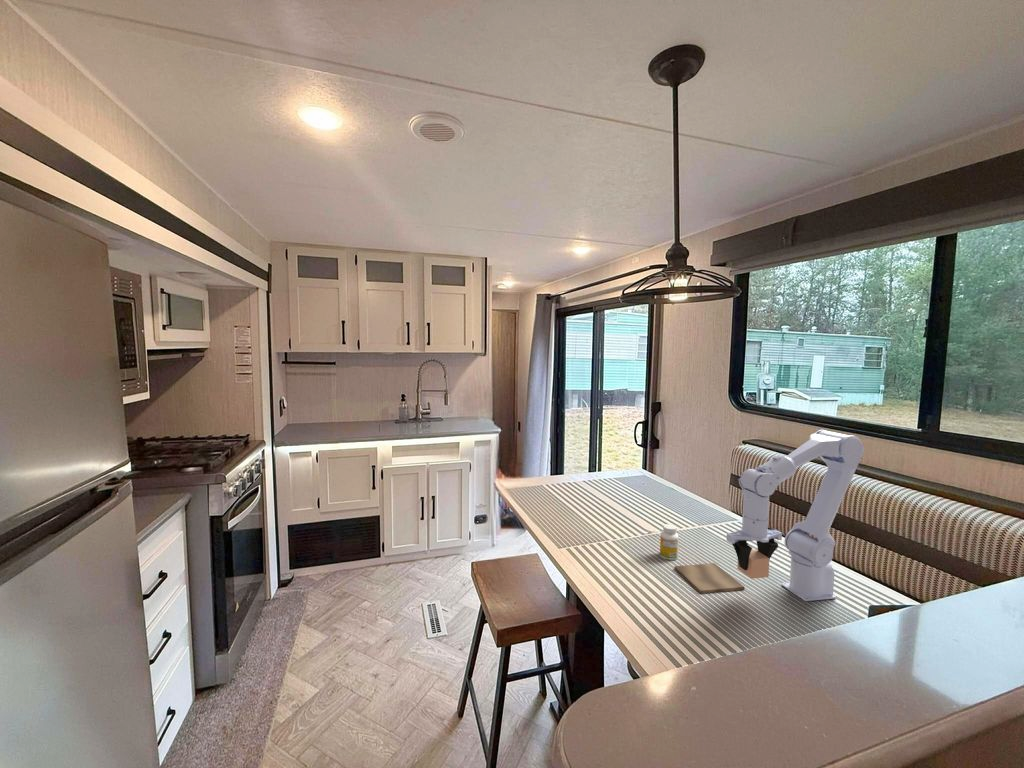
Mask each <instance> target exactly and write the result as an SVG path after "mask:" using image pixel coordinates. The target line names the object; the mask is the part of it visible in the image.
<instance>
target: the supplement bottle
mask: <svg viewBox="0 0 1024 768" xmlns="http://www.w3.org/2000/svg"><path fill="white" fill-rule="evenodd" d="M677 528H678V527H677V526H676V525H674V524H670V523H666V524H663V526H662V531H661V532H660V540H659V541H660V542H659V555H660V557H662V558H663V559H665V560H669V561H675V560H678V558H679V546H680V545H679V543H680V542H679V540H680V539H679V534H678V533H677V531H678V529H677Z"/></svg>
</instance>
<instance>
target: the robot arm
mask: <svg viewBox="0 0 1024 768" xmlns="http://www.w3.org/2000/svg"><path fill="white" fill-rule="evenodd" d="M864 452H865V448H864V445H863V443H862V440H861V439H860V438H859V437H858V436H856V435H853V434H852V435H850V434H849V435H848V434H843V433H839V432H835V431H829V430H826V429H819V430H817V431H815V432H814V433H811V434H810V435H809V438H808V440H807V441H805V442H804V443H803V444H801V445H800V446H799V447H797V448H796V449H794V450H793V451H791V452H790V453H788V455H786V456H785V455H773V456H772V457H771V458H772V459H770V460H768V461H767V462H764V463H763V464H759V465H758V466H757V467H755V469H754V468H748V469H746V470H744V471H743V472H742V473H741V475H740V478H738V484H739V486H740V488H741V494H742V495H743V496H742V497H743V499H742V500H743V501H742V521H741V529H739V530H735V531H732V532H727V533H726V542H728V543H730V544H732V546H733V549H734V551H735V553H736V556H737V562H738V561H739V566H740V567H741V568H742V569H744V570H747V569H748V561H749V555H750V552H751V550H752V549H753V547H752V546H751V545H749V544H748V542H756V546H757V551H759V552H760V553H762V554H763V555H765V556H767V557H768V558H769V561H770V559H771V558H772V556H773V554H774V552H775V551H776V550H777V549H778V548H779V543H778V542H776V541H775V540H777V541H782V540H783V532H781V531H779V530H777V529H768V528H769V507H770V496H772V495H773V494H775V491H776V489H777V487H779V486H780V484H781V483H782V482H784V481H786V480H787V479H790V478H792V476H794V475H795V474H796V472H797V468H798V467H800V466H802V465H804V464H806V463H809V462H810V461H813V460H814V459H816V458H820V459H821V461H823V462H824V463H825V464H826V466H827V470H826V472H825V475H824V477H823V479H822V481H821V484H820V485H819V489H818V491H817V493H816V495H815V498H814V500H813V502H812V504H811V506H810V507H809V511H808V512H807V515H806V517H805V519H804V520H802V521H799V522H796V523H793V525H792V528H791V529H790V530H789V531H788V532H787V533H786V535H785V537H784V542H783V543H784V546H785V548H786V550H788V555H789V556H790V572H789V573H790V574H789V582H781V586H782V587H784V588H785V589H786V590H788V591H789V592H791V593H792V594H794V595H795V596H796V597H798V598H800V599H801V600H803V601H804V602H812V601H822V600H831V599H833V600H834V599H836V598H837V596H836V595H834V585H835V571H834V567H833V565H832V564H831V562H832V560H833V557H834V548H835V546H836V540H835V539H834V538H833V536H832V535H831V534H830V531H829V530H830V528H831V526H832V524H833V522H834V520H835V517H836V515H837V513H838V510H839V508H840V507H841V504H842V502H843V500H844V498H845V495H846V494H847V491H848V488H849V487H850V484H851V482H852V480H853V477H854V475H855V473H856V470H857V468H858V466H859V464H860V462H861V459H862V457H863V455H864ZM813 536H814V537H813Z"/></svg>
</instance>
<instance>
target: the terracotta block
mask: <svg viewBox="0 0 1024 768" xmlns="http://www.w3.org/2000/svg"><path fill="white" fill-rule="evenodd" d="M737 570H738V571H740V572H741V573H743V574H744V575H746V576H747V577H748V578H750V579H751V580H753V579H760V578H769V574H770V560H769V558H768V557H767V556H765V555H763V554H762V553H760V552H759V551H758V549H754V548H752V550H751V552H750V555H749V561H748V569H747V570H744V569H742V568H741V567H740V566H739V561H738V560H737Z"/></svg>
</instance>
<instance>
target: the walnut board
mask: <svg viewBox="0 0 1024 768" xmlns="http://www.w3.org/2000/svg"><path fill="white" fill-rule="evenodd" d="M673 569H674V570H675V571H676V572H677V573H678V574H679V575H680V574H681V575H682V576H683V579H684V580H686V581H687V583H688V584H690V585H691V586H692V587H693V588H694V589H695V590H697V592H698V593H699V594H711V593H721V592H734V591H742V590H744V591H745V590H746V589H745V586H744V585H743V584H742V583H740V582H739V581H738V580H736V579H735V578H734V577H733V576H732V575H730V574H729V573H728V572H726V571H725V570H724V569H723V568H721V567H720V566H718V565H717V564H716V563H715V562H713V563H699V564H697V563H696V564H686V565H674V568H673ZM681 575H680V576H681ZM682 576H681V577H682Z"/></svg>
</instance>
